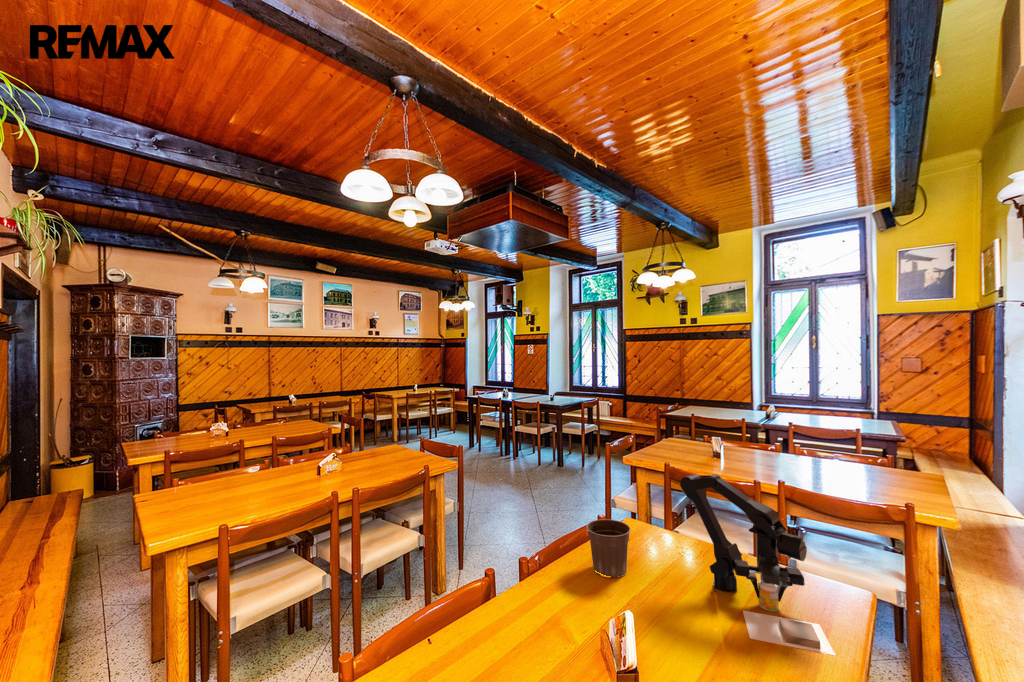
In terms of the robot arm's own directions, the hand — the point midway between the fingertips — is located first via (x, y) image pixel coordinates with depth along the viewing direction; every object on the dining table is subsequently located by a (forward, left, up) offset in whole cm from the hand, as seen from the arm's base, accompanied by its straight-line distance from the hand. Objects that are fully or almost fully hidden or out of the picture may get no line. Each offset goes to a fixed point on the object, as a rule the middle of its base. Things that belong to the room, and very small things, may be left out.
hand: (768, 599), depth 134 cm
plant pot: (-51, +7, -3) cm, 52 cm away
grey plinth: (+5, -14, -2) cm, 15 cm away
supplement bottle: (0, 0, -3) cm, 3 cm away
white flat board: (+2, -13, -3) cm, 13 cm away
